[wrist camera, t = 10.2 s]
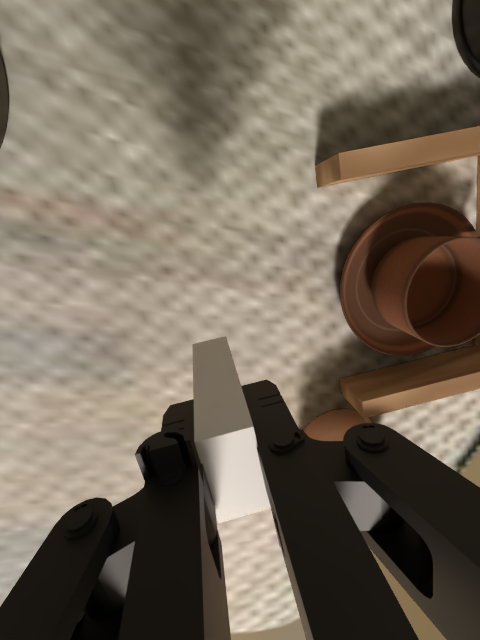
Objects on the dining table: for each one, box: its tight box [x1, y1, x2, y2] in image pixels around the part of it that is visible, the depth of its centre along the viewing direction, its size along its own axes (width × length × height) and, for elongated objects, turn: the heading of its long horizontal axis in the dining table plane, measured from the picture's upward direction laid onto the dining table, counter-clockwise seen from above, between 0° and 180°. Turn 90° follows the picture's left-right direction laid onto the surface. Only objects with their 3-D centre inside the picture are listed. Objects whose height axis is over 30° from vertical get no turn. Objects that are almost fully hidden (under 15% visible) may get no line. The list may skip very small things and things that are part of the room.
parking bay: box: [315, 126, 480, 418], centre depth 25 cm, size 19×14×4 cm
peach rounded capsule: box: [303, 409, 372, 549], centre depth 27 cm, size 8×8×7 cm
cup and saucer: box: [340, 203, 480, 356], centre depth 24 cm, size 12×12×6 cm
